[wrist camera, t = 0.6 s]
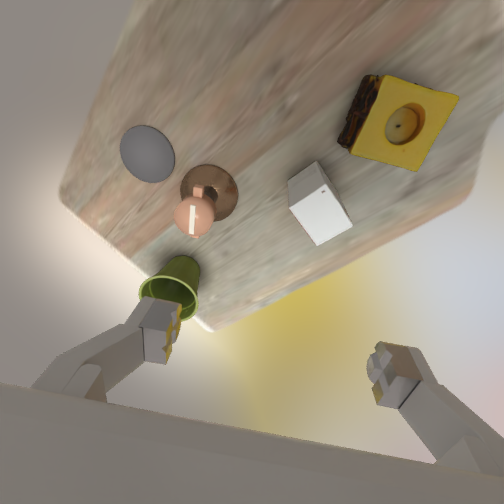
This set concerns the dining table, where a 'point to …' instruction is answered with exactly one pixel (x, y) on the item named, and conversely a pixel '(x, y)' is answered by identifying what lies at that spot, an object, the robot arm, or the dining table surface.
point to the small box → (317, 204)
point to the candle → (395, 121)
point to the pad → (147, 154)
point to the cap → (195, 213)
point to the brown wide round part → (213, 188)
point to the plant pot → (175, 285)
